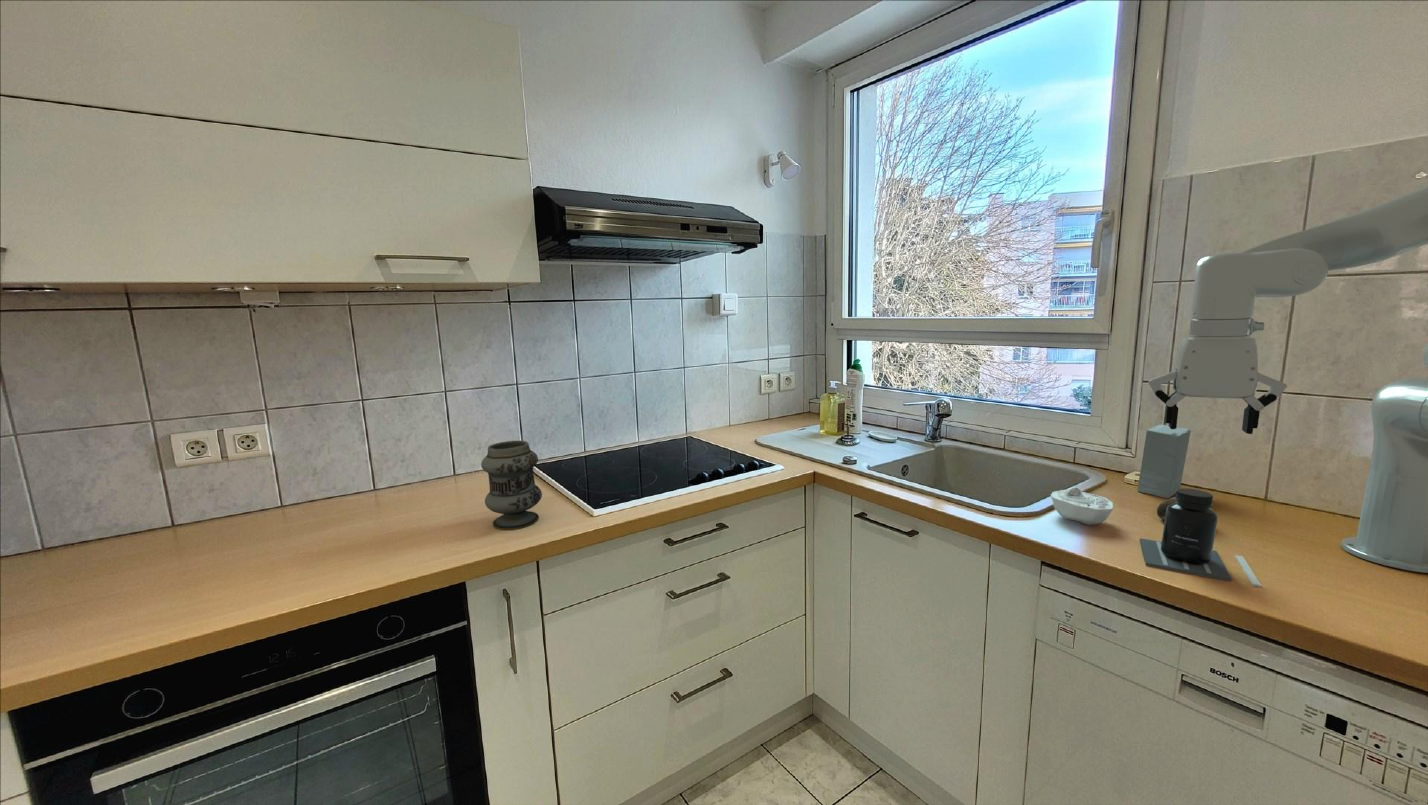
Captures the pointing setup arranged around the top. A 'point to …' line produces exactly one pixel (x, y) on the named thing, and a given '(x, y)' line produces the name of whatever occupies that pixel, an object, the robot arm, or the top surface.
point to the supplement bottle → (1189, 527)
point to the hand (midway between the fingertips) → (1208, 429)
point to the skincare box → (1163, 460)
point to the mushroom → (1164, 507)
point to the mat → (1160, 560)
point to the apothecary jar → (511, 484)
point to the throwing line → (1248, 571)
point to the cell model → (1081, 506)
